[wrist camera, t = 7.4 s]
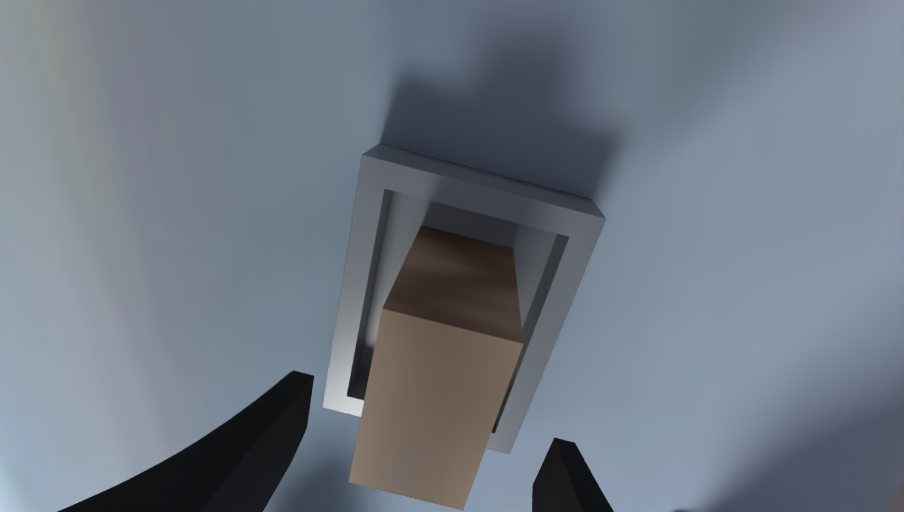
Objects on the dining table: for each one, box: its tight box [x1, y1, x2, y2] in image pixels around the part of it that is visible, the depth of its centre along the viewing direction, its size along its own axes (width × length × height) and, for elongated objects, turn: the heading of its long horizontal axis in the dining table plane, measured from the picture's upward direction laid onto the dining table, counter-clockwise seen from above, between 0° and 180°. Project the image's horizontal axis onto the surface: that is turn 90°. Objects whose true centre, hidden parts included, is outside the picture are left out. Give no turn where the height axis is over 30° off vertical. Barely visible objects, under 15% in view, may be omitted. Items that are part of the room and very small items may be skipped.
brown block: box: [348, 225, 524, 510], centre depth 17 cm, size 4×7×7 cm, turn 167°
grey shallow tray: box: [323, 144, 606, 454], centre depth 19 cm, size 9×12×2 cm
